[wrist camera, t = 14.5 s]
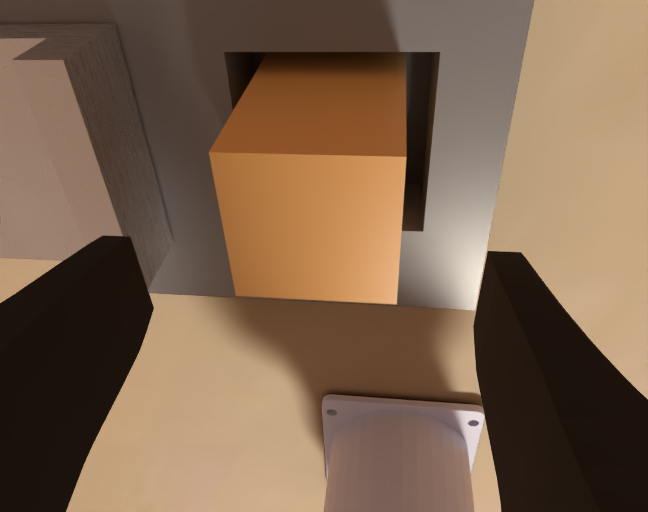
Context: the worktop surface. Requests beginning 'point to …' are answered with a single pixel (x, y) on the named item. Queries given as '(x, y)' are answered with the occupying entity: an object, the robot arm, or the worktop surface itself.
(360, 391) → the worktop surface
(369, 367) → the worktop surface
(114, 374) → the robot arm
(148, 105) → the socket board
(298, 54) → the plug
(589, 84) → the worktop surface
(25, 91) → the plate
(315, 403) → the worktop surface
